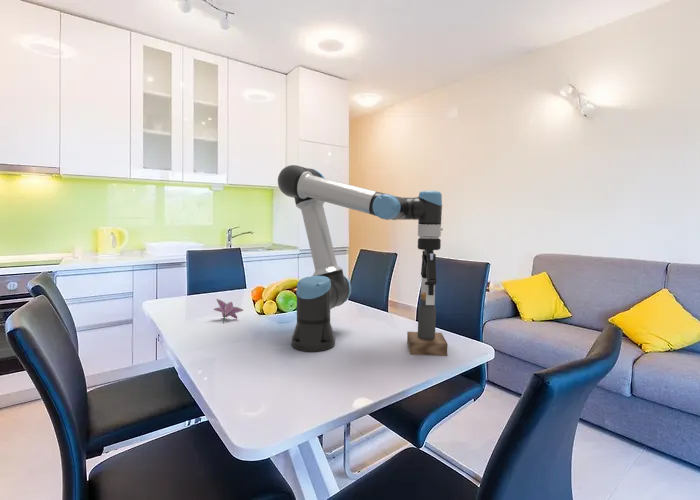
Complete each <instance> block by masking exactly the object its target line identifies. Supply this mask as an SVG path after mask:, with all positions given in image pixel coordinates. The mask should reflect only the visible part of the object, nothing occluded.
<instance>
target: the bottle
mask: <svg viewBox="0 0 700 500" xmlns="http://www.w3.org/2000/svg"><path fill="white" fill-rule="evenodd" d="M419 302H420V303H421V304H419V305H418V308H417V309H418V310H417V311H418V312H417V313H418V314H417V332H418V338H420V339H424V340H432V339H434V338H435V333H436V323H437V321H436V318H437V306H436V305H426V293H421V292H420V298H419Z"/></svg>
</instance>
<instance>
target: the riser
mask: <svg viewBox="0 0 700 500" xmlns="http://www.w3.org/2000/svg"><path fill="white" fill-rule="evenodd" d="M406 332H407V334H406V335H407V336H406V337H407V338H406V343H407V346H408V352H409V355H420V356H448V342H447V340H446V339H445V336H444V335H443V333H442V332H435V338H434V339H432V340H424V339H420V338H418V331H406Z"/></svg>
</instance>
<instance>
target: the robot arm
mask: <svg viewBox="0 0 700 500" xmlns="http://www.w3.org/2000/svg"><path fill="white" fill-rule="evenodd" d="M277 186H278V188H279V190H280V191H281V192H282V194H284V195H285V196H287V197H288V198H289V197H290V198H293V199H294V203H295V206H296V207H297V208H298V209H299V210H300V211H301V215H302V218H303V223H304V228H305V232H306V236H307V240H308V245H309V249H310V253H311V259H312V261H313V266H314V273H313V274H312V275H311V276H306V277H303V278H301V279H299V280H298V282H297V284H296V290H295V293H296V324H295V327H294V331H293V334H292V337H291V347H292V348H294V349H295V350H298V351H303V352H322V351H323V352H324V351H327V350H330V349H332V348H334V346H335V345H336V336H335V333H334V331H333V327H332V324H331V310H332V309H333V308H335V307H339V306H342V305H343V304H344V303H345V302H347V301H348V299H349V298H350V297H351V293H352V285H351V282H350V280H349V279H348V277H346V276H345V275H344V271H343V268H342V267H340V266H339V265H338V263H337V258H336V255H335V250H334V246H333V242H332V237H331V234H330V228H329V225H328V221H327V216H326V213H325V208H324V204H325V203H329V204H331V205H335V206H340V207H343V208H347V209H350V210H354V211H358V212H361V213H364V214H367V215H372V216H375V217H378V218H379V219H382V220H385V221H388V220H389V221H390V220H392V221H397V220H399V221H401V220H402V221H403V220H406V221H407V220H413V221H416V220H418V222H417V223H418V225H417V236H418V238H417V249H418V250H421V251H422V255H421V269H420V271H421V272H420V276H421V282H420V283H421V285H420V286H421V288H420V294H421V293H426V305H434V306H436V304H435V303H436V285H437V283H438V281H437V267H436V266H437V265H436V257H437V255H436V253H434V251H439V250H441V243H442V242H441V241H442V240H441V238H440V237H441V236H442V232H441V231H444V228H443V227H442V211H443V199H442V196H443V195H442V193H441V192H440V191H438V190H422V191H420V192H419V193H418V196H415V197H402V196H397V195H393V194H389V193H385V192H384V193H383V192H379V191H377V190H372V189H368V188H365V187H361V186H357V185H352V184H350V183H349V184H348V183H345V182H341V181H337V180H332V179H328V178H326V177H325V176H324V175H323V173H321V172H319V171H317V170H316V169H314V168H308V167H304V166H301V165H297V164H291V165H287V166H285V167H284V168H282V169H281V171H280V172H279V174H278V177H277Z"/></svg>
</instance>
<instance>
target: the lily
mask: <svg viewBox="0 0 700 500" xmlns="http://www.w3.org/2000/svg"><path fill="white" fill-rule="evenodd" d="M216 302H217V303H218V306H219V307H215V308H213V311H216V312H219V313H221V315H222V318H223V317H224V318H223V322H224V323H225V319H226V318H228V317H231V318H234V319H235V318H238V316H237V313H239V312H240V313H241V312H244V311H245V310H244V309H243V308H241V307H238V306H234V304H233V302H232V301H229V302H228V303H226V302H225V301H223V300H221V299H217V298H216ZM225 317H226V318H225Z"/></svg>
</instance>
